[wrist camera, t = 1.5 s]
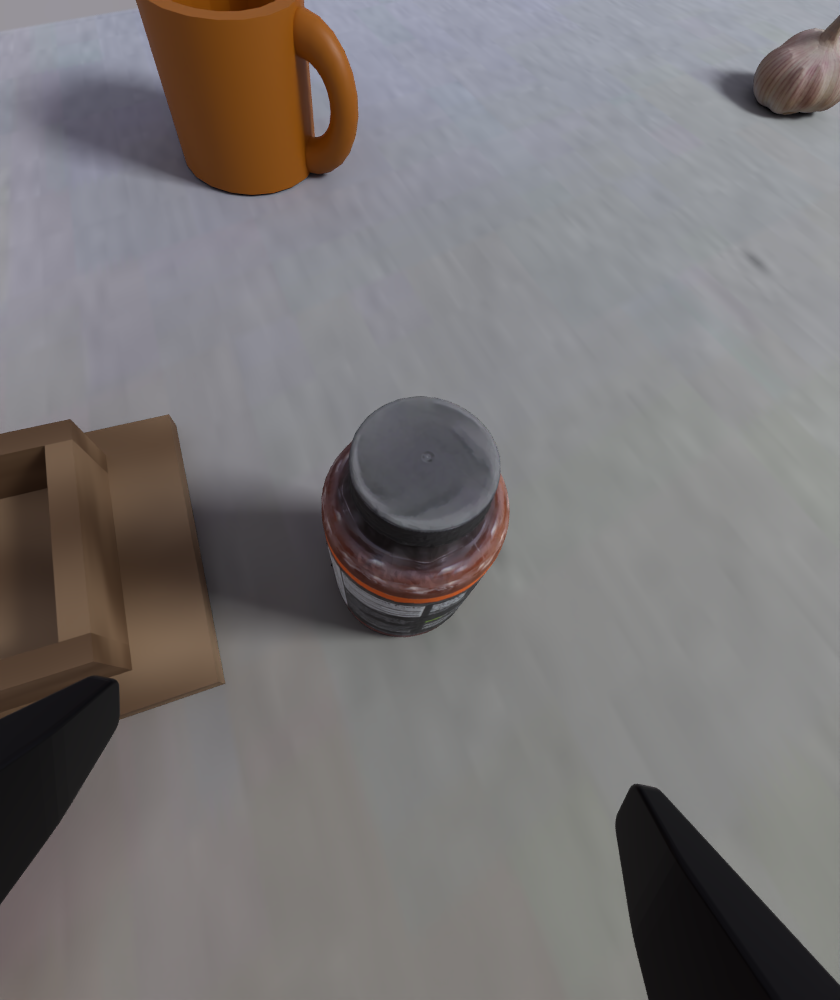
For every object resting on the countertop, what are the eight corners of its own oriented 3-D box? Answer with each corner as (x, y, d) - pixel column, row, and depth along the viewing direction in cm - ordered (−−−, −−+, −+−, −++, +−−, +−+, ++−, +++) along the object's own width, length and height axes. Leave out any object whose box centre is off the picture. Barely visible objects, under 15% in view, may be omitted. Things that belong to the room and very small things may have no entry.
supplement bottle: (388, 493, 24) (404, 328, 14) (488, 562, 23) (582, 439, 13) (309, 587, 22) (259, 471, 12) (415, 669, 21) (461, 619, 11)
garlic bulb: (833, 107, 45) (923, -11, 38) (811, 141, 42) (904, 21, 35) (757, 73, 46) (830, -48, 39) (732, 104, 44) (805, -20, 36)
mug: (311, 234, 31) (291, 64, 23) (157, 164, 33) (87, -21, 25) (379, 163, 35) (383, -6, 27) (238, 102, 36) (201, -77, 28)
